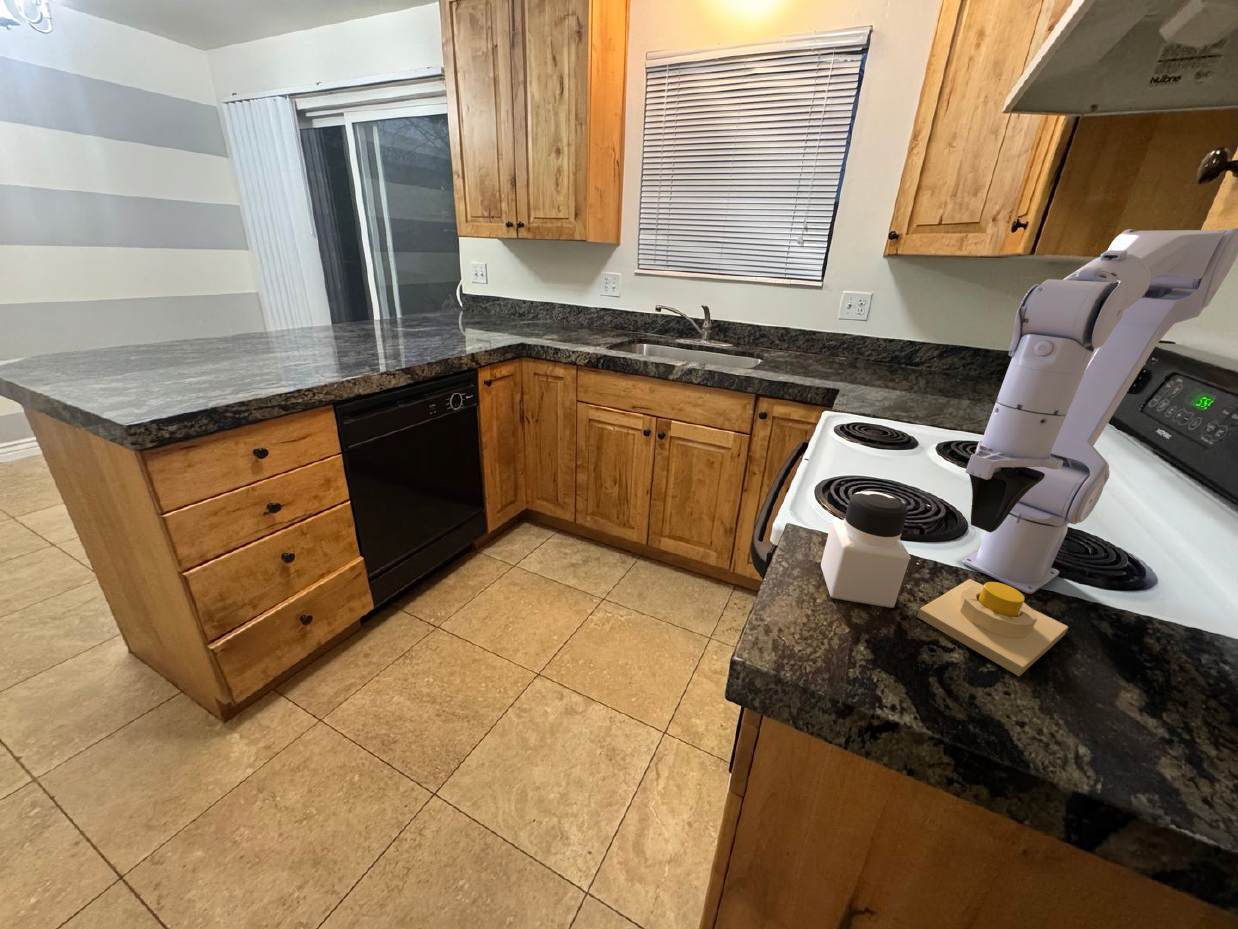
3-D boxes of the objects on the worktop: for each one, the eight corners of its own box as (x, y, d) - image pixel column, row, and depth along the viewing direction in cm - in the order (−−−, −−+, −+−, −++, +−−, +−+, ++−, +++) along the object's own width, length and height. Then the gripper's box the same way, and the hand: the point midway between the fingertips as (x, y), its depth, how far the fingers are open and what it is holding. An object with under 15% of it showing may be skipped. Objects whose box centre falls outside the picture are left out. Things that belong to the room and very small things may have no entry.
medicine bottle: (894, 609, 57) (925, 517, 52) (829, 599, 58) (854, 508, 54) (877, 574, 63) (903, 490, 59) (819, 565, 65) (840, 482, 60)
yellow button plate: (966, 586, 62) (974, 566, 61) (1064, 635, 55) (1075, 613, 53) (916, 617, 56) (924, 595, 55) (1019, 677, 48) (1030, 653, 47)
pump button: (986, 593, 57) (993, 578, 56) (1023, 611, 54) (1030, 595, 53) (972, 602, 55) (978, 587, 54) (1009, 622, 52) (1016, 606, 51)
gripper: (1051, 426, 43) (995, 561, 48) (1105, 412, 50) (1051, 530, 55) (963, 405, 48) (921, 528, 53) (1024, 395, 56) (982, 504, 61)
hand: (983, 527), depth 55 cm, fingers closed
